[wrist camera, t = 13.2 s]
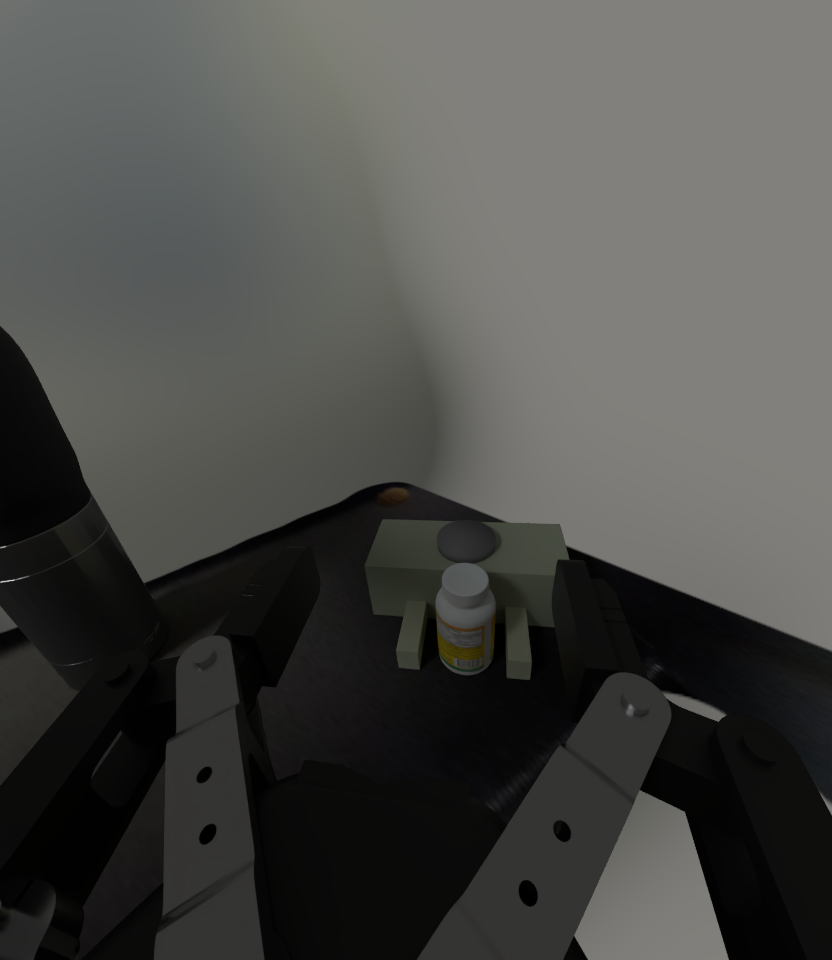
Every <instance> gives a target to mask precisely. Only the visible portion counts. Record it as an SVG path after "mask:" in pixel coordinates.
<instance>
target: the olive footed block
mask: <svg viewBox="0 0 832 960" xmlns="http://www.w3.org/2000/svg"><path fill="white" fill-rule="evenodd" d="M558 559H563V560H569V556H568V552H567V549H566V545H565V541H564V538H563V534H562V530H561V527H560V524H530V523H495V522H478V521H474V520H458V521H423V520H388V519H382V522H381V524H380V527H379V530H378V532H377V535H376V537H375V540H374V542H373V545H372V548H371V550H370V553H369V555H368V558H367V561H366V563H365V566H364V567H365V572H366V577H367V582H368V588H369V593H370V598H371V603H372V609H373V614H376V615H390V616H404V618H403V622H402V626H401V631H400V635H399V640H398V644H397V649H396V653H397V660H398V666H399V668H408V669H418V670H420V664H421V658H422V652H423V645H424V639H425V633H426V626H427V620H428V618H432V619H436V606H435V602H436V596H437V594H438V592H439V590H440V589H441V588H442V576H443V573H444V571H445V570H446V569H447V568H449V567H450V566H452V565H454V564H458V563H471V564H474V565H477V566H479V567H481V568H482V569H483V570H484V571H485V572H486V573H487V575H488V578H489V589H490V590H491V592H492V593H493V595H494V598H495V602H496V616H495V623H502V624H504V625H505V646H506V667H507V678H513V679H524V680H530V675H531V666H532V659H531V650H530V641H529V632H528V625H530V626H544V627H555V626H554V620H553V614H552V591H553V584H554V577H555V571H556V564H557V561H558Z"/></svg>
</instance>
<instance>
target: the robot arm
mask: <svg viewBox="0 0 832 960" xmlns="http://www.w3.org/2000/svg"><path fill="white" fill-rule="evenodd" d="M319 592H320V578H319V574H318V570H317V567H316V563H315V559H314V556H313V552H312V550H311V548H310V547H303V546H287V547H285V548H284V550H283V551H282V553H281V554H280V556H279V557H278V559H277V560H276V561H275V560H271V561H270V562H268V563H267V564H266V565H265V566H263V567H262V568H261V569H260V570H258V571H257V573H256V574H255V576H254V577H253V579H252V580H251V582H250V583H249V586H247V587H246V589H245V590H244V592H243V593H242V594H243V595H242V596H240V598H239V599H238V601H237V602H236V603H235V605H234V606H233V608H232V609H231V611H230V612H229V614H228V615H227V617H226V618H225V619H224V621H223V622H222V624H221V625H220V627H219V628H218V630H217V631H216V633H215V634H214V635H213V636H210V637H206V638H203V639H201V640H199V641H197V642H196V643H194V644H193V645H191V646H190V647H189V648H188V649H187V650H186V651H185V652H184V653H183V654H182V655H181V656H179V657H174V658H169V659H164V660H160V661H155V662H150V659H151V658H152V657H153V656H154V655H155V654H156V653H157V652H158V650H159V649H160V647H161V646H162V645H163V643H164V641H165V638H166V636H167V631H168V629H167V623H166V622H165V620H164V618H163V616H162V615H161V613H160V611H159V609H158V608H157V606H156V604H155V602H154V600H153V599H152V597H151V595H150V593H149V591H148V590H147V588H146V586H145V585H144V583H143V581H142V579H141V578H140V576H139V574H138V572H137V571H136V569H135V567H134V566H133V564H132V562H131V560H130V559H129V557H128V555H127V553H126V552H125V550H124V548H123V547H122V545H121V543H120V541H119V540H118V538H117V536H116V535H115V533H114V531H113V530H112V528H111V526H110V524H109V522H108V521H107V519H106V518H105V516H104V514H103V513H102V511H101V509H100V507H99V506H98V504H97V502H96V500H95V499H94V497H93V495H92V494H91V492H90V490H89V488H88V487H87V485H86V483H85V481H84V479H83V476H82V472H81V469H80V466H79V462H78V460H77V456H76V454H75V452H74V450H73V448H72V446H71V444H70V442H69V440H68V438H67V436H66V434H65V432H64V430H63V428H62V426H61V424H60V422H59V420H58V418H57V416H56V414H55V412H54V410H53V408H52V406H51V404H50V402H49V400H48V397H47V395H46V393H45V391H44V389H43V387H42V385H41V383H40V381H39V379H38V377H37V375H36V373H35V371H34V369H33V368H32V366H31V364H30V363H29V361H28V359H27V358H26V356H25V354H24V353H23V351H22V350H21V349H20V347H19V346H18V345H17V344H16V342H15V341H14V340H13V338H12V337H11V336H10V335H9V334H8V333H7V332H6V331H5V330H3V328H2V327H1V326H0V606H1V608H3V610H4V611H5V612H6V613H7V614H8V616H9V617H10V618H11V619H12V620H13V621H14V622H15V624H16V625H17V626H18V627H19V628H20V630H21V631H22V632H23V633H24V634H25V635H26V636H27V638H28V639H29V640H30V641H31V642H32V643H33V645H34V646H35V647H36V648H37V649H38V650H39V652H40V653H41V654H42V655H43V656H44V657H45V659H46V660H47V661H48V662H49V663H50V665H51V666H52V667H53V668H54V669H55V670H56V671H57V672H58V674H59V675H60V676H61V677H62V678H63V679H64V681H65V682H66V683H67V684H68V685H69V686H70V687H71V688H73V689H75V690H81V691H80V692H79V693H78V694H77V695H76V697H75V698H74V699H73V700H72V701H71V702H70V704H69V705H68V706H67V707H66V708H65V710H64V711H63V712H62V713H61V714H60V716H59V717H58V718H57V719H56V720H55V722H54V723H53V724H52V725H51V726H50V727H49V729H48V730H47V731H46V732H45V733H44V735H43V736H42V737H41V738H40V739H39V741H38V742H37V743H36V744H35V745H34V747H33V748H32V749H31V750H30V751H29V752H28V754H27V755H26V756H25V757H24V758H23V760H22V761H21V762H20V763H19V764H18V766H17V767H16V768H15V769H14V770H13V772H12V773H11V774H10V775H9V776H8V777H7V779H6V780H5V781H4V782H3V783H2V785H1V786H0V960H76V958H77V955H78V953H79V949H80V940H79V937H80V934H81V931H82V927H83V921H84V911H83V905H84V904H85V902H86V900H87V898H88V897H89V895H90V893H91V891H92V889H93V888H94V886H95V884H96V882H97V881H98V879H99V877H100V875H101V873H102V872H103V870H104V868H105V866H106V865H107V863H108V861H109V859H110V857H111V856H112V854H113V852H114V850H115V849H116V847H117V845H118V843H119V841H120V840H121V838H122V836H123V834H124V833H125V831H126V829H127V827H128V825H129V824H130V822H131V820H132V818H133V817H134V815H135V813H136V811H137V810H138V808H139V806H140V804H141V802H142V801H143V799H144V797H145V795H146V794H147V792H148V790H149V788H150V786H151V785H152V783H153V781H154V779H155V778H156V776H157V774H158V772H159V770H160V769H161V767H162V765H163V763H164V762H165V760H166V771H165V830H164V882H163V883H162V884H161V885H160V886H158V887H157V888H156V889H155V890H154V891H153V892H152V893H151V894H150V895H149V896H148V897H147V898H146V899H145V900H144V901H143V902H141V903H140V904H139V905H138V906H137V907H136V908H135V909H134V910H133V911H132V912H131V913H130V914H129V915H128V916H127V917H125V918H124V919H123V920H122V921H121V922H120V923H119V924H118V925H117V926H116V927H115V928H114V929H113V930H112V931H111V932H109V933H108V934H107V935H106V936H105V937H104V938H103V939H102V940H101V941H100V942H99V943H98V944H97V945H96V946H95V947H93V948H92V949H91V950H90V951H89V952H88V953H87V954H86V955H85V956H84V957H83V958H82V959H81V960H588V959H587V957H586V956H585V954H584V952H583V950H582V949H581V947H580V945H579V944H578V942H577V940H576V938H575V937H574V934H575V932H576V930H577V928H578V926H579V923H580V921H581V919H582V917H583V915H584V912H585V910H586V908H587V906H588V904H589V901H590V899H591V897H592V895H593V893H594V890H595V888H596V886H597V884H598V881H599V879H600V877H601V875H602V873H603V870H604V868H605V866H606V864H607V862H608V859H609V857H610V855H611V853H612V850H613V848H614V846H615V844H616V842H617V839H618V837H619V835H620V833H621V831H622V828H623V826H624V824H625V822H626V819H627V817H628V815H629V813H630V811H631V809H632V806H633V804H634V801H635V799H636V796H637V794H638V792H639V790H641V791H643V792H645V793H648V794H649V795H651V796H654V797H656V798H658V799H660V800H662V801H664V802H666V803H668V804H670V805H672V806H674V807H676V808H678V809H680V810H682V811H685V813H686V816H687V820H688V823H689V827H690V830H691V834H692V837H693V840H694V844H695V847H696V850H697V854H698V857H699V860H700V864H701V867H702V871H703V874H704V877H705V881H706V884H707V887H708V891H709V894H710V897H711V901H712V904H713V907H714V911H715V914H716V917H717V921H718V924H719V928H720V931H721V934H722V938H723V941H724V944H725V948H726V951H727V954H728V958H729V960H832V815H831V813H830V811H829V810H828V808H827V806H826V804H825V802H824V800H823V799H822V797H821V795H820V793H819V791H818V790H817V788H816V786H815V784H814V782H813V780H812V779H811V777H810V775H809V773H808V771H807V769H806V768H805V766H804V764H803V762H802V760H801V759H800V757H799V755H798V754H797V752H796V750H795V749H794V748H793V746H792V745H791V744H790V743H789V742H788V741H787V740H786V739H785V738H784V737H783V736H782V735H781V734H780V733H779V732H778V731H776V730H775V729H773V728H772V727H771V726H769V725H767V724H766V723H764V722H762V721H760V720H758V719H756V718H753V717H750V716H746V715H742V714H731V715H727V716H725V717H723V718H722V719H721V720H720V721H719V722H717V721H715V720H712V719H709V718H706V717H704V716H701V715H699V714H696V713H694V712H691V711H688V710H686V709H684V708H681V707H679V706H677V705H676V704H674V703H672V702H671V701H669V700H668V699H666V697H665V696H664V695H663V693H662V692H661V691H660V690H659V689H658V688H657V687H656V686H655V685H654V684H653V683H651V682H650V680H649V679H648V677H647V674H646V672H645V669H644V667H643V664H642V661H641V659H640V656H639V653H638V650H637V648H636V645H635V642H634V640H633V637H632V634H631V632H630V629H629V626H628V625H627V621H626V618H625V615H624V613H623V612H622V607H621V605H620V602H619V599H618V597H617V594H616V592H615V591H614V590H613V589H612V588H611V587H610V586H609V584H608V583H607V582H606V581H605V580H604V579H593V578H590V575H589V572H588V569H587V566H586V563H585V561H583V560H563V559H558V561H557V564H556V571H555V577H554V584H553V591H552V614H553V620H554V626H555V631H556V637H557V642H558V648H559V653H560V659H561V665H562V670H563V676H564V681H565V687H566V692H567V698H568V704H569V709H570V715H571V720H572V722H575V723H578V725H577V726H576V728H575V730H574V731H573V733H572V734H571V736H570V737H569V739H568V740H567V742H566V743H565V744H561V745H560V746H559V747H558V748H557V749H556V751H555V752H554V754H553V755H552V757H551V758H550V760H549V761H548V763H547V765H546V766H545V768H544V769H543V771H542V772H541V774H540V775H539V777H538V779H537V780H536V782H535V783H534V785H533V786H532V788H531V789H530V791H529V793H528V794H527V796H526V797H525V799H524V800H523V802H522V803H521V805H520V807H519V808H518V810H517V811H516V813H515V814H514V816H513V818H512V819H511V821H510V822H509V824H508V825H507V824H506V823H505V822H504V821H503V820H502V819H501V818H500V817H499V816H498V815H497V814H496V813H495V812H494V811H493V810H491V809H490V808H489V807H487V806H486V805H484V804H483V803H481V802H480V801H478V800H476V799H474V798H472V797H470V783H463V782H456V781H449V780H442V779H435V778H428V777H425V778H419V779H413V780H407V781H401V782H395V783H389V784H379V783H377V782H375V781H373V780H371V779H369V778H367V777H365V776H363V775H361V774H359V773H357V772H355V771H353V770H351V769H349V768H347V767H345V766H343V765H337V764H330V763H323V762H316V761H309V760H304V762H303V765H302V768H301V771H300V773H298V774H294V775H291V776H288V777H285V778H283V779H281V780H279V781H277V779H276V776H275V773H274V770H273V767H272V764H271V761H270V757H269V752H268V747H267V742H266V737H265V732H264V727H263V721H262V716H261V711H260V706H259V701H258V698H257V695H258V693H259V691H260V689H261V687H262V686H266V687H275V688H276V686H277V684H278V682H279V679H280V677H281V675H282V673H283V671H284V669H285V667H286V664H287V662H288V660H289V658H290V656H291V654H292V652H293V650H294V647H295V645H296V643H297V641H298V639H299V637H300V635H301V632H302V630H303V628H304V626H305V624H306V622H307V620H308V617H309V615H310V613H311V611H312V609H313V607H314V605H315V603H316V600H317V598H318V596H319ZM120 730H121V731H122V735H121V736H120V738H119V739H118V740H117V742H116V743H115V745H114V746H113V748H112V749H111V751H110V752H109V754H108V755H107V757H106V758H105V760H104V761H103V763H102V764H101V765H100V767H99V768H98V770H97V771H96V773H95V774H94V776H93V777H92V773H93V771H94V769H95V767H96V765H97V764H98V762H99V761H100V759H101V758H102V756H103V755H104V753H105V752H106V751H107V749H108V748H109V746H110V745H111V743H112V742H113V740H114V739H115V738H116V736H117V735H118V733H119V732H120ZM91 777H92V779H91Z"/></svg>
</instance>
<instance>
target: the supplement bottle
mask: <svg viewBox="0 0 832 960" xmlns="http://www.w3.org/2000/svg"><path fill="white" fill-rule="evenodd" d="M435 606H436V621H437V636H438V649H439V656H440V658H441V661H442V662H443V663H444V665H445V666H446V667H447V668H449V669H450V670H451V671H453V672H455V673H457V674H461V675H474V674H478V673H480V672H482V671H483V670H485V669H486V668H487V667H488V666H489V665H490V663H491V661H492V659H493V654H494V635H495V616H496V602H495V598H494V595H493V593H492V592H491V590H490V589H489V578H488V575H487V573H486V572H485V571H484V570H483V569H482V568H481V567H479V566H477V565H474V564H471V563H458V564H454V565H452V566H450V567H449V568H447V569H446V570H445V571H444V573H443V576H442V588H441V589H440V590H439V592H438V594H437V596H436V602H435Z"/></svg>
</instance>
